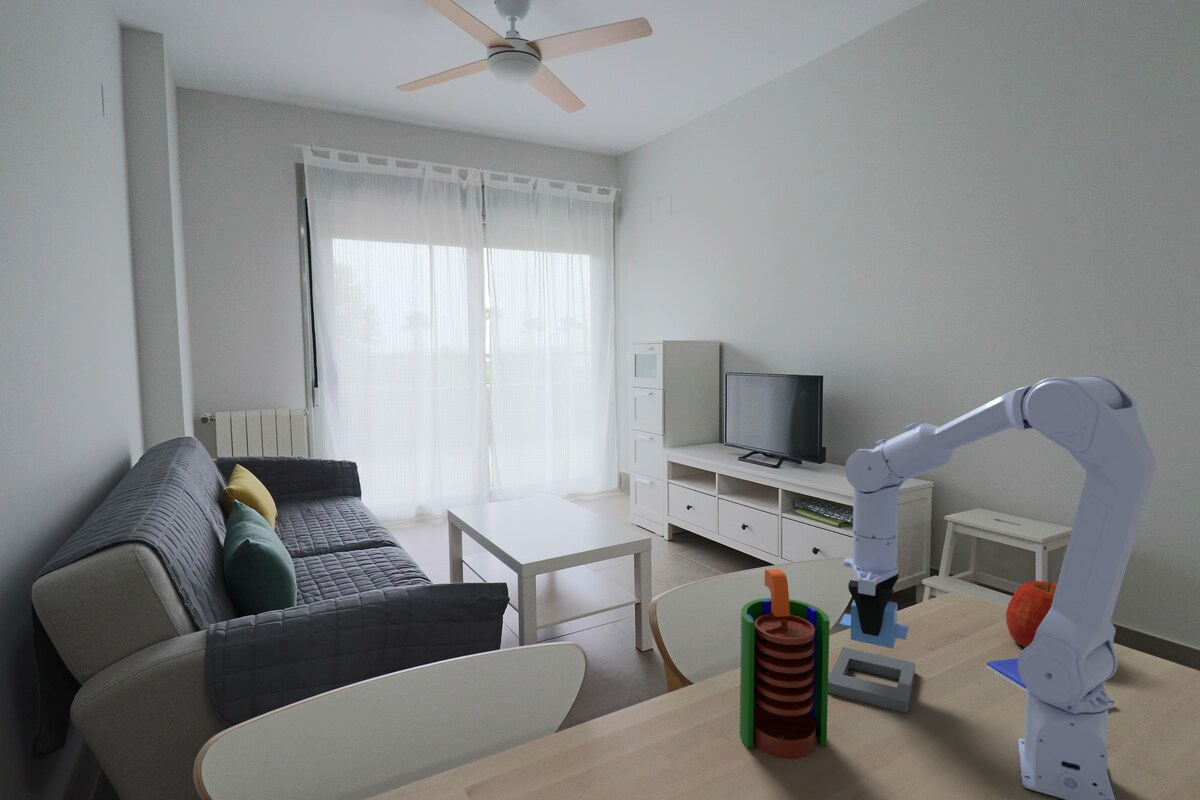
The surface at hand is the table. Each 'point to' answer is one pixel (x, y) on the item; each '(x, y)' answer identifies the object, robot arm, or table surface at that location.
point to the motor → (783, 672)
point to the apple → (1029, 610)
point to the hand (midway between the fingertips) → (873, 627)
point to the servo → (888, 628)
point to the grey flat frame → (867, 689)
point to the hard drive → (1016, 674)
